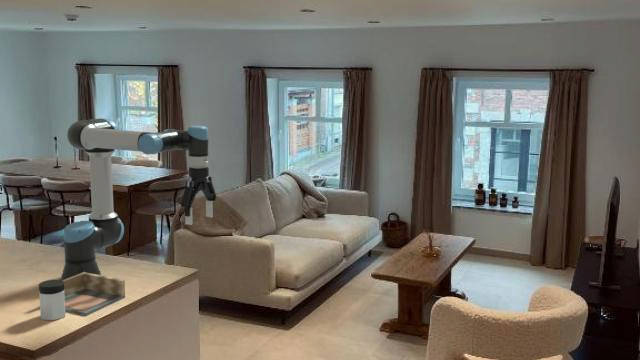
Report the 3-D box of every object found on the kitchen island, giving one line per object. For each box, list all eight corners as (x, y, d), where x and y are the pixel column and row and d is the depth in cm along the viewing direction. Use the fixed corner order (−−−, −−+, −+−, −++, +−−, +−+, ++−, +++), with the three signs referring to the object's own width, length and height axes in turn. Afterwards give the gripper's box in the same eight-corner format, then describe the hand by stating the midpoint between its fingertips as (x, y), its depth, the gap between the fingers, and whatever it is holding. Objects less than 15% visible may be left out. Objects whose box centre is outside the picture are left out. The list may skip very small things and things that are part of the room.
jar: (59, 309, 227) (58, 277, 225) (71, 315, 222) (69, 282, 220) (35, 316, 221) (33, 283, 218) (46, 322, 215) (44, 289, 213)
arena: (44, 306, 230) (42, 287, 229) (84, 289, 248) (83, 272, 247) (86, 315, 222) (85, 296, 221) (125, 297, 240) (124, 279, 239)
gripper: (187, 172, 229) (188, 228, 233) (224, 163, 251) (225, 215, 255) (170, 170, 232) (171, 226, 236) (208, 161, 254) (209, 212, 258)
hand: (199, 220), depth 246 cm, fingers open, 13 cm apart
